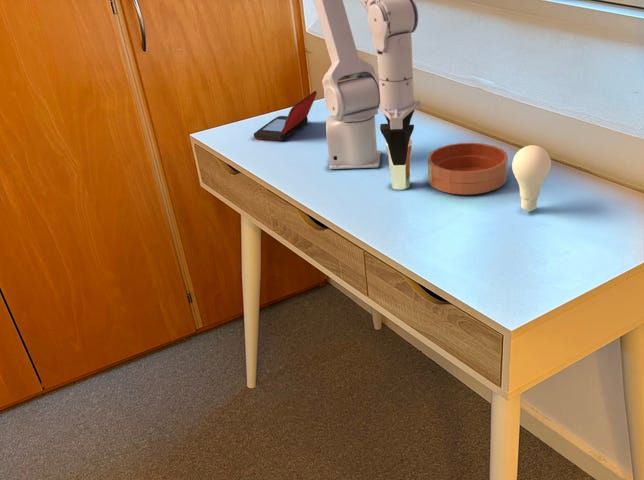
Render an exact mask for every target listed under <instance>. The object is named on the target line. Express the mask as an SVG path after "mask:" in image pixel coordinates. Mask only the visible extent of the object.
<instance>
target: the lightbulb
mask: <svg viewBox="0 0 644 480" xmlns="http://www.w3.org/2000/svg"><path fill="white" fill-rule="evenodd" d="M511 162H512V163H511V168H512V169H511V170H512V173H513V175H514V177H515V179H516V182H517V184H518V188H519V196H520V201H521V202H520V206H521V209H522V210H523V211H525V212H528V213H531V212H532V211H534V210H536V208H537V205H538V200H539V199H538V198H539V197H540V191H541V188H542V186H543V184H544V182H545V180H546V179H547V177H548V175H549V174H550V171H551V168H552V159H551V157H550V155H549V153H548V151H546V150H545V148H543V147H541V146H539V145H535V144H531V145H530V144H529V145H525V146H523V147H522V148H520V149H519V150H518V151H517V152H516V154H514V156H513V159H512V161H511Z"/></svg>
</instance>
